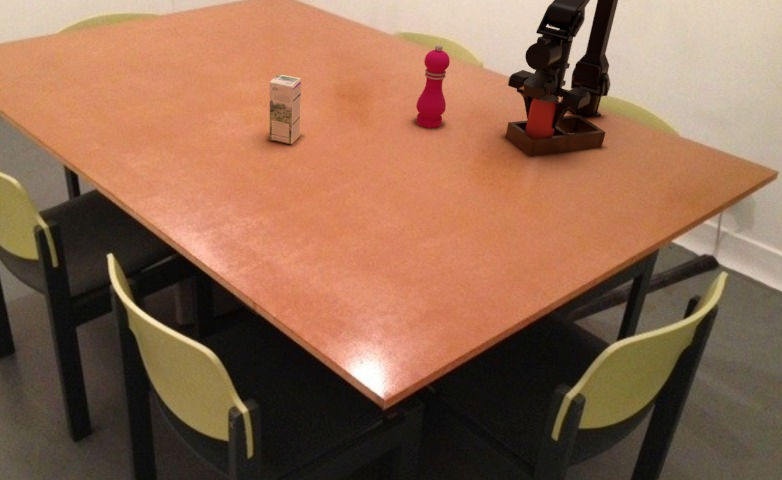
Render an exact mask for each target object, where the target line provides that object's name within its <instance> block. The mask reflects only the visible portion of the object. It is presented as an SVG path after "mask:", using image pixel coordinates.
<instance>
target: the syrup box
mask: <svg viewBox="0 0 782 480" xmlns="http://www.w3.org/2000/svg"><path fill="white" fill-rule="evenodd" d="M301 101H302V78H301V77H296V76H290V75H286V74H280V73H279V74H277V75H275V76H274V77H273V78H271V80H270V81H269V141H272V142H277V143H281V144H282V143H283V144H288V145H292V144H293V143H295V142H296V141H297V140H298V138H300V136H301Z"/></svg>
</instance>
